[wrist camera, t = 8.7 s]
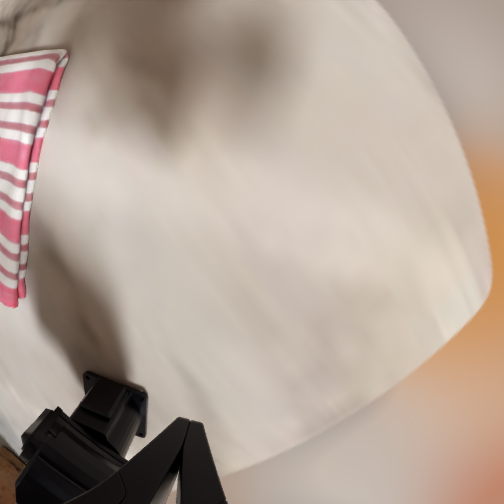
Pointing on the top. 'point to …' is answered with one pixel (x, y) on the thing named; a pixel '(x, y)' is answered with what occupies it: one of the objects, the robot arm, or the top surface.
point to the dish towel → (22, 154)
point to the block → (8, 475)
